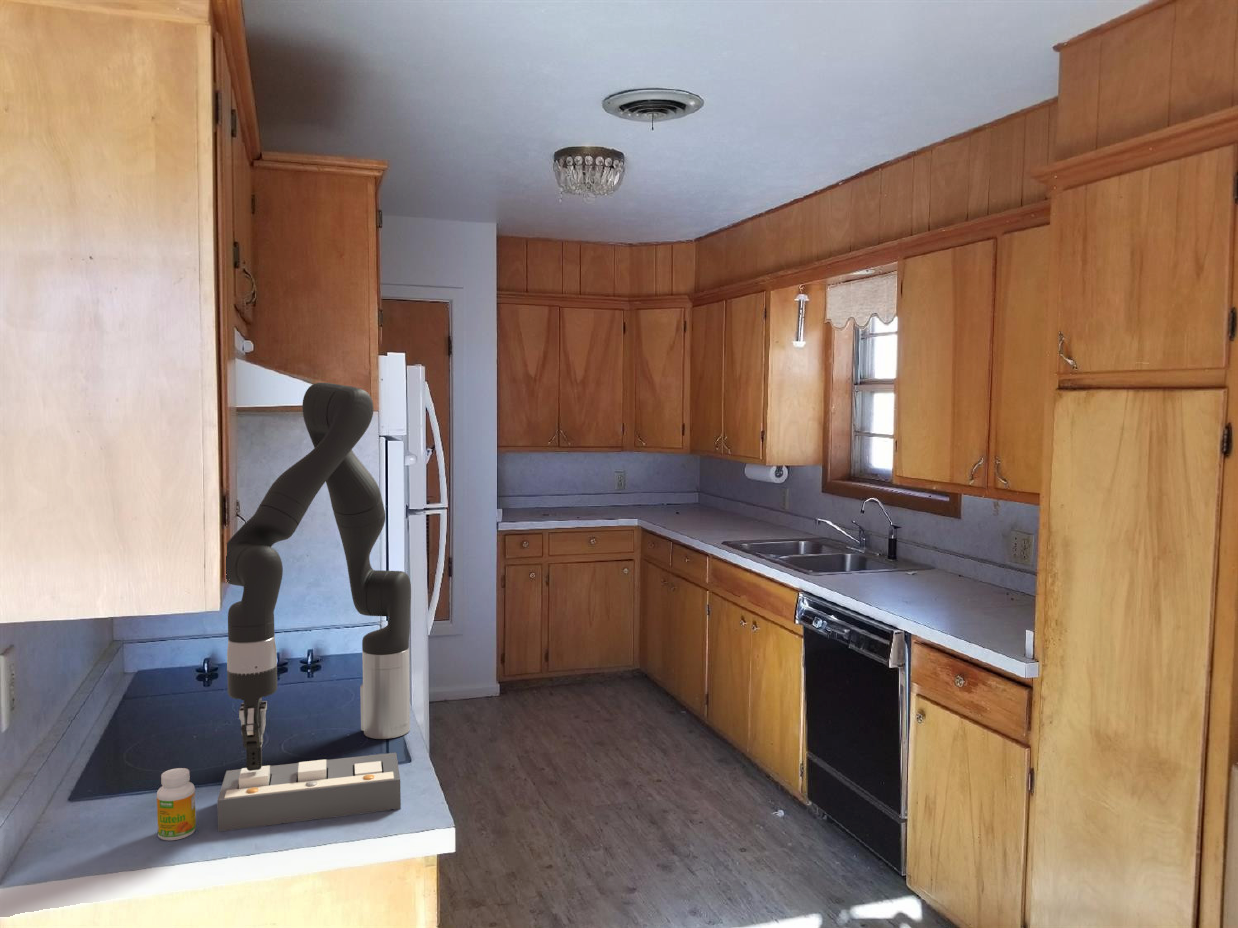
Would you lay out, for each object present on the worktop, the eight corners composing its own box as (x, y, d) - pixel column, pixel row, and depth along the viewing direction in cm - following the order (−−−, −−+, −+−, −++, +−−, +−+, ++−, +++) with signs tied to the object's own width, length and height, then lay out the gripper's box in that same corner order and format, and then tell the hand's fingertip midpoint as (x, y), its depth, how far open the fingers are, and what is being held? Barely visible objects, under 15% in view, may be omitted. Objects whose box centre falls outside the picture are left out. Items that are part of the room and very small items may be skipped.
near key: (239, 795, 147) (238, 779, 147) (242, 784, 151) (241, 768, 151) (268, 792, 148) (267, 775, 148) (270, 781, 152) (269, 765, 152)
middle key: (298, 789, 149) (297, 772, 149) (299, 778, 154) (298, 762, 153) (326, 785, 151) (325, 769, 150) (326, 775, 155) (326, 759, 155)
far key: (355, 790, 152) (354, 774, 152) (354, 779, 156) (354, 764, 156) (382, 787, 153) (382, 771, 153) (381, 776, 158) (381, 761, 157)
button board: (218, 831, 143) (217, 798, 142) (227, 799, 154) (226, 768, 154) (400, 808, 151) (400, 777, 150) (396, 779, 162) (396, 750, 162)
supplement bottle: (154, 843, 139) (152, 781, 138) (162, 827, 144) (160, 768, 143) (192, 839, 140) (190, 778, 139) (198, 823, 145) (197, 764, 145)
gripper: (273, 674, 143) (276, 781, 144) (279, 652, 155) (281, 751, 156) (222, 678, 141) (225, 787, 142) (231, 656, 153) (234, 756, 154)
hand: (254, 768), depth 149 cm, fingers closed
